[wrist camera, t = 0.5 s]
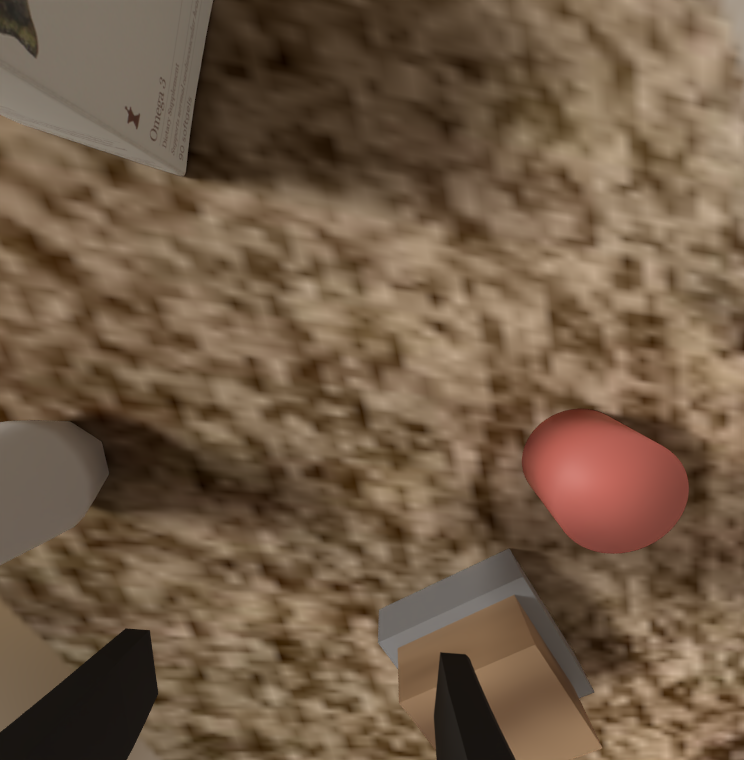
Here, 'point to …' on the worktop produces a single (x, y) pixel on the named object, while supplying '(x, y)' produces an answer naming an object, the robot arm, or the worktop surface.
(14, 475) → the salt shaker
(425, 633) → the tower base block
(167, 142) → the supplement box
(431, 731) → the tower top block
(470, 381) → the worktop surface
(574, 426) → the red rounded block
